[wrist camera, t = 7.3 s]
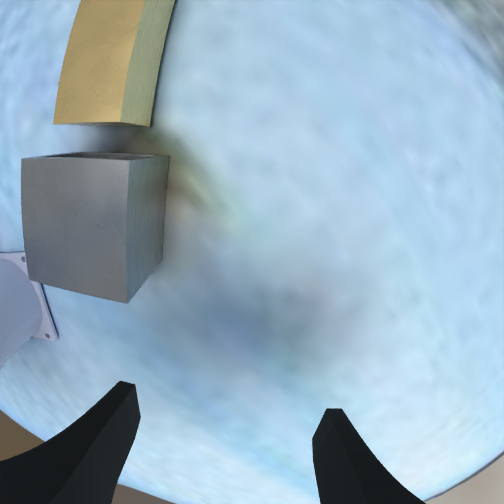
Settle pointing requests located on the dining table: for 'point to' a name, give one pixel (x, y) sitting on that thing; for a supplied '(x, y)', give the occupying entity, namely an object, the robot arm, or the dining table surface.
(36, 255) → the sleeve
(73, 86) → the block
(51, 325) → the robot arm
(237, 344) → the dining table surface
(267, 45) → the dining table surface
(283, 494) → the dining table surface
